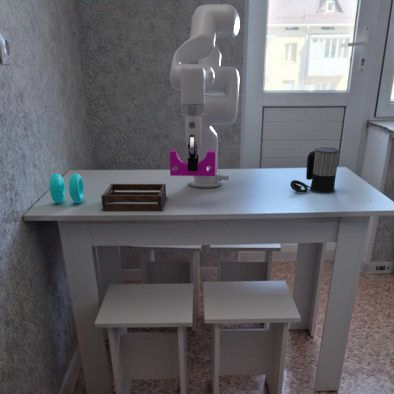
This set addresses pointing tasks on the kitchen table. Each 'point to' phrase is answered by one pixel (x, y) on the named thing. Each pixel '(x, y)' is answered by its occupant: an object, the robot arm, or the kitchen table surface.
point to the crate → (134, 197)
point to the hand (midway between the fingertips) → (193, 168)
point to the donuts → (59, 188)
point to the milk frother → (320, 171)
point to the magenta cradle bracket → (202, 165)
